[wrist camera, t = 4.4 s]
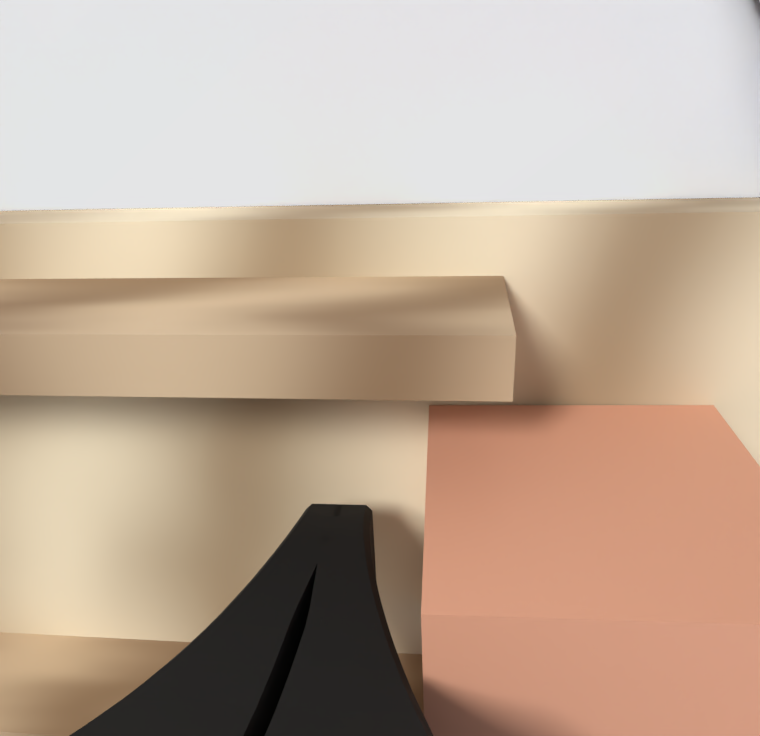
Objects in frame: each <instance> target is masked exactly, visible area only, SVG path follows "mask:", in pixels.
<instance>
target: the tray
mask: <svg viewBox="0 0 760 736" xmlns="http://www.w3.org/2000/svg"><path fill="white" fill-rule="evenodd" d="M429 405H714V406H715V408H716V409H717V410H718V412H719V413H720V414H721V416H722V417H723V418H724V420H725V421H726V422H727V424H728V425H729V426H730V428H731V429H732V430H733V432H734V433H735V434H736V435H737V437H738V438H739V439H740V441H741V442H742V443H743V445H744V446H745V447H746V449H747V450H748V451H749V453H750V454H751V455H752V457H753V458H754V459H755V461H756V462H757V463H758V465H759V466H760V197H759V198H702V199H646V200H590V201H534V202H478V203H422V204H366V205H310V206H254V207H198V208H142V209H86V210H29V211H0V736H69V735H71V734H72V733H74V732H75V731H77V730H78V729H80V728H81V727H83V726H84V725H86V724H87V723H89V722H90V721H92V720H93V719H95V718H96V717H98V716H99V715H100V714H102V713H103V712H105V711H106V710H108V709H109V708H110V707H112V706H113V705H115V704H116V703H117V702H119V701H120V700H122V699H123V698H124V697H126V696H127V695H128V694H130V693H131V692H132V691H134V690H135V689H136V688H138V687H139V686H140V685H141V684H143V683H144V682H145V681H146V680H148V679H149V678H150V677H151V676H152V675H154V674H155V673H156V672H157V671H158V670H160V669H161V668H162V667H163V666H164V665H166V664H167V663H168V662H169V661H170V660H172V659H173V658H174V657H175V656H176V655H177V654H179V653H180V652H181V651H182V650H183V649H184V648H185V647H186V646H187V645H188V644H190V643H191V642H192V641H193V640H194V639H195V638H196V637H197V636H198V635H199V634H200V633H201V632H202V631H203V630H205V629H206V628H207V627H208V626H209V625H210V624H211V623H212V622H213V621H214V620H215V619H216V618H217V617H218V616H219V615H220V614H221V612H222V611H223V610H224V609H225V608H226V607H227V606H228V605H229V604H230V603H231V602H232V601H233V599H234V598H235V597H236V596H237V595H238V594H239V593H240V592H241V591H242V590H243V589H244V588H245V586H246V585H247V584H248V583H249V582H250V581H251V580H252V578H253V577H254V576H255V575H256V574H257V572H258V571H259V570H260V569H261V568H262V566H263V565H264V564H265V563H266V562H267V560H268V559H269V558H270V557H271V555H272V554H273V553H274V552H275V551H276V549H277V548H278V547H279V545H280V544H281V543H282V541H283V540H284V539H285V538H286V536H287V535H288V534H289V532H290V531H291V530H292V528H293V527H294V525H295V524H296V523H297V521H298V520H299V518H300V517H301V516H302V514H303V513H304V511H305V510H306V509H307V508H308V507H309V506H310V505H311V504H347V505H367V506H368V507H369V508H370V509H371V510H372V513H373V530H374V548H375V566H376V582H377V587H378V591H379V595H380V599H381V603H382V607H383V610H384V614H385V617H386V621H387V624H388V627H389V630H390V633H391V637H392V640H393V642H394V645H395V648H396V651H397V654H398V656H399V659H400V662H401V664H402V667H403V669H404V672H405V674H406V677H407V679H408V682H409V684H410V686H411V689H412V691H413V694H414V696H415V698H416V700H417V702H418V704H419V706H420V708H421V710H422V713H423V715H424V702H423V667H422V632H421V601H422V576H423V550H424V524H425V498H426V473H427V447H428V421H429Z"/></svg>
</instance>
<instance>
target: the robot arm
mask: <svg viewBox="0 0 760 736" xmlns="http://www.w3.org/2000/svg"><path fill="white" fill-rule="evenodd" d="M69 736H433V733H432V731H431V729H430V727H429V725H428V723H427V721H426V719H425V717H424V715H423V713H422V710H421V708H420V706H419V704H418V702H417V700H416V698H415V696H414V694H413V691H412V689H411V686H410V684H409V682H408V679H407V677H406V674H405V672H404V669H403V667H402V664H401V662H400V659H399V656H398V654H397V651H396V648H395V645H394V642H393V640H392V637H391V633H390V630H389V627H388V624H387V621H386V617H385V614H384V610H383V607H382V603H381V599H380V595H379V591H378V587H377V582H376V566H375V548H374V530H373V513H372V510H371V509H370V508H369V507H368V506H367V505H347V504H311V505H310V506H309V507H308V508H307V509H306V510H305V511H304V513H303V514H302V516H301V517H300V518H299V520H298V521H297V523H296V524H295V525H294V527H293V528H292V530H291V531H290V532H289V534H288V535H287V536H286V538H285V539H284V540H283V541H282V543H281V544H280V545H279V547H278V548H277V549H276V551H275V552H274V553H273V554H272V555H271V557H270V558H269V559H268V560H267V562H266V563H265V564H264V565H263V566H262V568H261V569H260V570H259V571H258V572H257V574H256V575H255V576H254V577H253V578H252V580H251V581H250V582H249V583H248V584H247V585H246V586H245V588H244V589H243V590H242V591H241V592H240V593H239V594H238V595H237V596H236V597H235V598H234V599H233V601H232V602H231V603H230V604H229V605H228V606H227V607H226V608H225V609H224V610H223V611H222V612H221V614H220V615H219V616H218V617H217V618H216V619H215V620H214V621H213V622H212V623H211V624H210V625H209V626H208V627H207V628H206V629H205V630H203V631H202V632H201V633H200V634H199V635H198V636H197V637H196V638H195V639H194V640H193V641H192V642H191V643H190V644H188V645H187V646H186V647H185V648H184V649H183V650H182V651H181V652H180V653H179V654H177V655H176V656H175V657H174V658H173V659H172V660H170V661H169V662H168V663H167V664H166V665H164V666H163V667H162V668H161V669H160V670H158V671H157V672H156V673H155V674H154V675H152V676H151V677H150V678H149V679H148V680H146V681H145V682H144V683H143V684H141V685H140V686H139V687H138V688H136V689H135V690H134V691H132V692H131V693H130V694H128V695H127V696H126V697H124V698H123V699H122V700H120V701H119V702H117V703H116V704H115V705H113V706H112V707H110V708H109V709H108V710H106V711H105V712H103V713H102V714H100V715H99V716H98V717H96V718H95V719H93V720H92V721H90V722H89V723H87V724H86V725H84V726H83V727H81V728H80V729H78V730H77V731H75V732H74V733H72V734H71V735H69Z"/></svg>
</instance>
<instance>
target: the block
mask: <svg viewBox="0 0 760 736" xmlns="http://www.w3.org/2000/svg"><path fill="white" fill-rule="evenodd" d="M421 632H422V667H423V702H424V717H425V719H426V721H427V723H428V725H429V727H430V729H431V731H432V733H433V736H760V466H759V465H758V463H757V462H756V461H755V459H754V458H753V457H752V455H751V454H750V453H749V451H748V450H747V449H746V447H745V446H744V445H743V443H742V442H741V441H740V439H739V438H738V437H737V435H736V434H735V433H734V432H733V430H732V429H731V428H730V426H729V425H728V424H727V422H726V421H725V420H724V418H723V417H722V416H721V414H720V413H719V412H718V410H717V409H716V408H715V406H714V405H429V421H428V447H427V473H426V498H425V524H424V550H423V576H422V601H421Z"/></svg>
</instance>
